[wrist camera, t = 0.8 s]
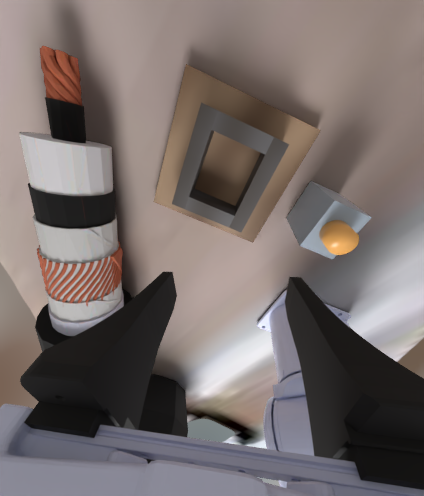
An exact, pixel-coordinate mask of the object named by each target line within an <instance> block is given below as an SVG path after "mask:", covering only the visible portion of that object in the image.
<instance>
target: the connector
mask: <svg viewBox="0 0 424 496" xmlns="http://www.w3.org/2000/svg"><path fill="white" fill-rule="evenodd" d="M371 218H372V217H371V216H369V215H368V214H367V213H365V212H364V211H362V210H361V209H360V208H358V207H357V206H355V205H354V204H353V203H351V202H350V201H349V200H347V199H346V198H344V197H343V196H342V195H340V194H339V193H336V192H334V191H332V190H330V189H328V188H326V187H323V186H321V185H319V184H317V183H315V182H313V181H310V183H309V184H308V186H307V187H306V189H305V190H304V192H303V193H302V195H301V196H300V198H299V199H298V201H297V202H296V204H295V205H294V207H293V208H292V210H291V212H290V213H289V215H288V216H287V220H288V222H289V224H290V226H291V228H292V231H293V233H294V235H295V237H296V239H297V241H298V243H299V245H300V246H302V247H304V248H306V249H309V250H311V251H314V252H316V253H318V254H321V255H323V256H325V257H328V258H330V259H334V258H335V257H336V256H337V255H343V254H346V253H349V252H351V251H352V250H353V249H355V247H356V246H357V245H358V242H359V236H358V234H357V233H358V232H359V231H360V230H361V229H362V228H363V227H364V225H365V224H366V223H367V222H368V221H369V220H370V219H371Z"/></svg>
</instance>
